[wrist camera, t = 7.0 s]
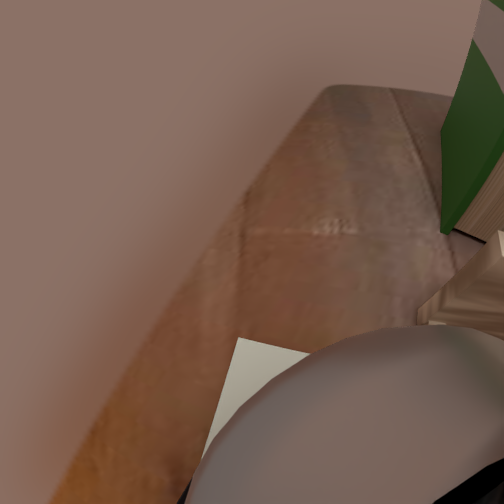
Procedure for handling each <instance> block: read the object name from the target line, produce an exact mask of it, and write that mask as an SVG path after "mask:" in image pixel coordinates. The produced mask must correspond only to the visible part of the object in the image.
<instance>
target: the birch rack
mask: <svg viewBox="0 0 504 504" xmlns="http://www.w3.org/2000/svg"><path fill="white" fill-rule="evenodd" d="M439 324H441V325H449V326H458V327H467V328H473V329H476V330H478V331H481V332H484V333H486V334H489V335H492V336H494V337H497V338H499V339H501V340H503V341H504V232H502V231H499V230H497V232H496V233H495V234H494V235H493V236H492V237H491V238H490V239H489V241H488V242H487V243H486V244H485V245H484V246H483V247H482V248H481V249H480V250H479V251H478V252H477V253H476V254H475V256H474V257H473V258H472V259H471V260H470V261H469V262H468V263H467V264H466V265H465V266H464V267H463V268H462V269H461V270H460V271H459V272H458V273H457V274H456V275H455V276H454V277H453V278H452V279H451V280H449V281H448V282H447V283H446V284H445V285H444V286H443V287H442V288H441V289H440V290H439V291H438V292H437V293H436V294H434V295H433V296H432V297H431V298H430V299H429V300H428V301H427V302H426V303H424V304H423V305H422V306H421V307H420V308H419V309H418V314H417V326H420V325H439Z"/></svg>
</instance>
